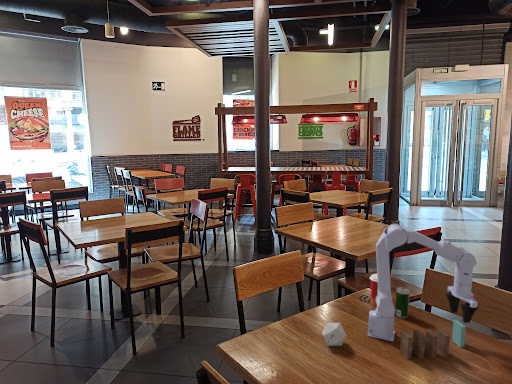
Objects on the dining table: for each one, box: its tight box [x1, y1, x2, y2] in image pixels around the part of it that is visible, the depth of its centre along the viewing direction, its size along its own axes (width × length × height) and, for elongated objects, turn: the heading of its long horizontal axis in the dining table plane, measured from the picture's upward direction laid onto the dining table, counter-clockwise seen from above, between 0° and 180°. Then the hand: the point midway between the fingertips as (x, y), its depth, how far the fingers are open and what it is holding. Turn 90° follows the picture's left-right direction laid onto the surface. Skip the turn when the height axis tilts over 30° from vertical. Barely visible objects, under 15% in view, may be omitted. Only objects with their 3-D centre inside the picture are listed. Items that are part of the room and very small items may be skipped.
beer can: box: [394, 286, 410, 319], centre depth 157 cm, size 5×5×12 cm
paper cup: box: [369, 273, 378, 309], centre depth 167 cm, size 8×8×14 cm
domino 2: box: [412, 329, 425, 359], centre depth 129 cm, size 2×5×8 cm, turn 4°
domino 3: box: [424, 328, 438, 359], centre depth 129 cm, size 2×5×8 cm, turn 4°
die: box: [321, 322, 347, 347], centre depth 136 cm, size 8×9×10 cm
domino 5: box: [451, 319, 467, 348], centre depth 136 cm, size 2×5×8 cm, turn 3°
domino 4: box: [436, 328, 451, 358], centre depth 129 cm, size 2×5×8 cm, turn 4°
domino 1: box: [400, 329, 413, 360], centre depth 129 cm, size 2×5×8 cm, turn 3°
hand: (459, 317), depth 135 cm, fingers open, 7 cm apart
